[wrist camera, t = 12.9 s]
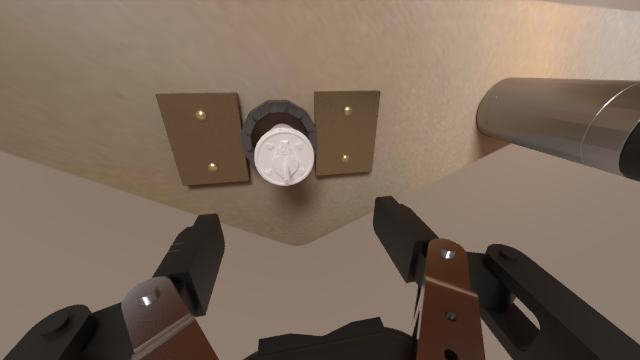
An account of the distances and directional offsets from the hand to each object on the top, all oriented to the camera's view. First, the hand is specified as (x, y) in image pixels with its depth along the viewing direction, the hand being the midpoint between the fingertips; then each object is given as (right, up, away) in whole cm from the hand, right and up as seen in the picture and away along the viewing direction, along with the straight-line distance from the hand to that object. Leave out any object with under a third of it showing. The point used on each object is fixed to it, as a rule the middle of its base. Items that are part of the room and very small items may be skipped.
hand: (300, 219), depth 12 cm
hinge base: (-5, +8, +21) cm, 23 cm away
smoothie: (-4, +8, +21) cm, 23 cm away
